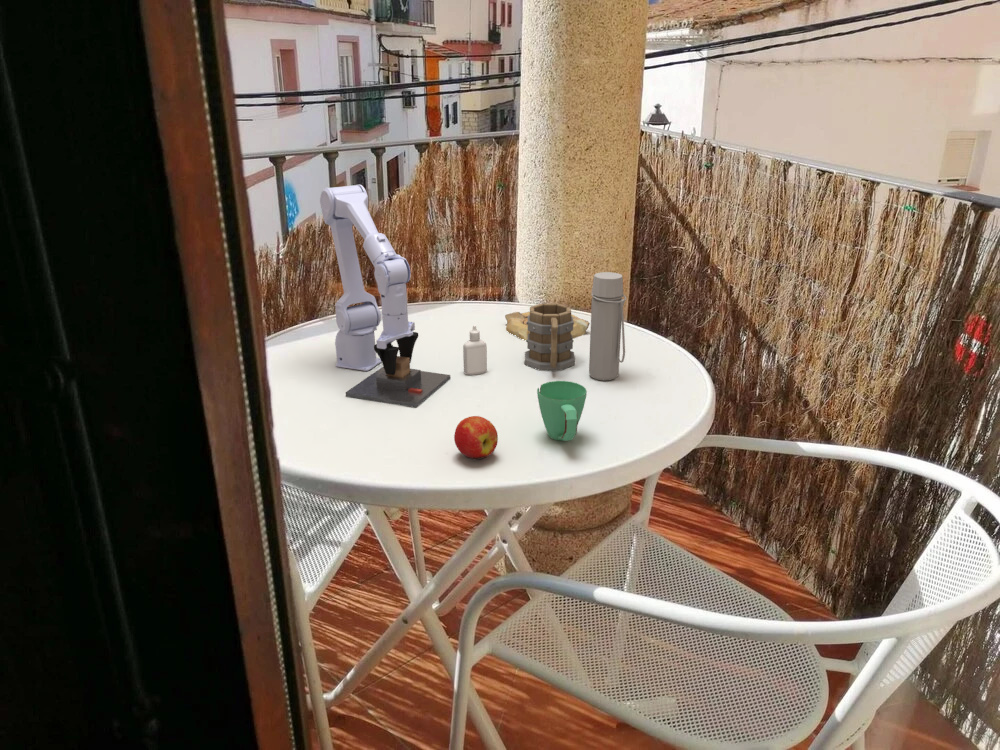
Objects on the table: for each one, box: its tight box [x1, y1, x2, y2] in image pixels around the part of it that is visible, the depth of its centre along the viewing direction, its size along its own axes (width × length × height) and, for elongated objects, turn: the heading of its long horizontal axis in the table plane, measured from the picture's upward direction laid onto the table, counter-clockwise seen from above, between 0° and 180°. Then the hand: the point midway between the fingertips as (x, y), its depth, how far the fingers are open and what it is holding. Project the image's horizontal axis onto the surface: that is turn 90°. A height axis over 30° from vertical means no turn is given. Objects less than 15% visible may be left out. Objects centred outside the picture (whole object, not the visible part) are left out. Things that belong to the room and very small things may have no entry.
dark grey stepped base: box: [345, 366, 451, 409], centre depth 178 cm, size 18×18×4 cm
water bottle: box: [588, 271, 627, 382], centre depth 179 cm, size 9×8×25 cm
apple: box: [453, 415, 499, 460], centre depth 145 cm, size 8×8×8 cm
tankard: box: [524, 302, 576, 371], centre depth 188 cm, size 20×13×15 cm, turn 178°
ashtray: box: [504, 311, 591, 341], centre depth 217 cm, size 24×24×5 cm
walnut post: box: [387, 355, 411, 378], centre depth 177 cm, size 4×4×6 cm
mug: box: [536, 380, 588, 442], centre depth 151 cm, size 15×10×10 cm
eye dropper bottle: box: [462, 325, 488, 376], centre depth 185 cm, size 4×6×12 cm
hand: (398, 368), depth 177 cm, fingers open, 7 cm apart
